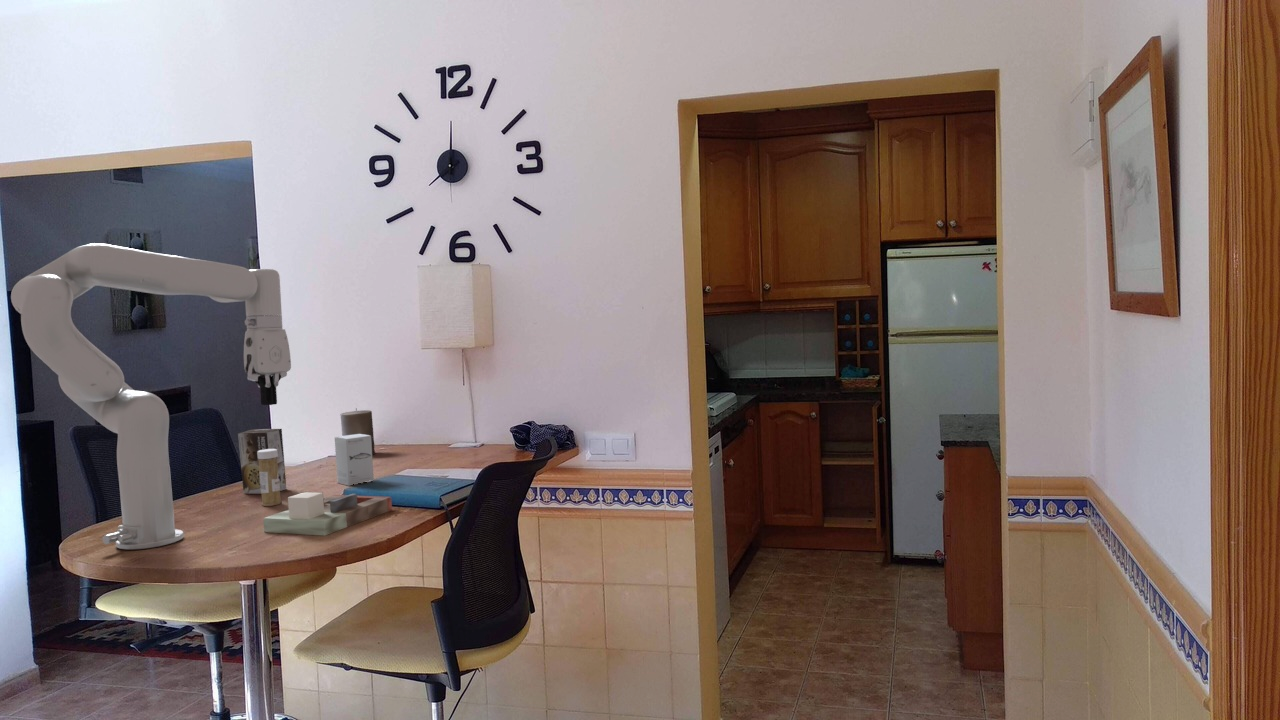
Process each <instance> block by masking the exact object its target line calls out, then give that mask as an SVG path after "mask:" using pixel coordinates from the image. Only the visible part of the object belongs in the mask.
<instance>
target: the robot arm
mask: <svg viewBox="0 0 1280 720" xmlns="http://www.w3.org/2000/svg"><path fill="white" fill-rule="evenodd" d="M96 286H97V287H98V286H99V287H104V288H105V287H107V288H113V289H119V290H120V289H121V290H127V291H133V292H134V291H135V292H139V293H140V292H141V293H146V294H153V295H163V296H176V295H177V296H181V295H185V296H186V295H189V296H190V295H191V296H203V297H209V298H210V299H211V300H213V301H215V302H218V303H226V304H227V303H235V302H237V303H238V302H245V316H246V319H245V320H244V325H245V326H246V331H245V333H244V343H243V367H244V371H245V373H246V374H247V377H246V378H247V380H248V381H252V382H255V383H256V384H257V387H258V388H259V390H260V391H259V392H260V404H261V405H262V406H272V405H277V404H278V396H277V395H278V394H277V387H278V386H279V383H280V380H281V379H283V378H285V377H287V375H288V372H289V371H291V368H292V359H291V350H290V344H289V338H288V335H287V331H286V329H285V328H284V329H283V315H282V314H283V313H282V297H281V296H282V294H281V293H282V292H281V276H280V273H279V272H278V271H277V270H276V269H273V268H272V269H271V268H256V269H255V268H254V269H252V268H251V269H248V268H246V267H244V266H240V265H237V264H236V265H235V264H229V263H225V262H217V261H212V260H205V259H198V258H197V259H196V258H190V257H184V256H180V255H179V256H178V255H173V254H172V255H171V254H164V253H158V252H152V251H145V250H141V249H135V248H129V247H125V246H119V245H112V244H108V243H95V242H94V243H93V242H92V243H87V244H84V245H80V246H77V247H75V248H72V249H71V250H69V251H68V252H66V253H64V254H63V255H61V256H60V257H58V258H56V259H54V260H52V261H51V262H49V263H47V264H46V265H44V266H42V267H41V268H39V269H37V270H35V271H33V272H32V273H30V274H28V275H26V276H24V277H23V278H21V279H20V280H19V281H17V282H16V284H14V286H13V288H12V290H11V294H10V300H11V301H10V302H11V304H12V306H13V308H14V309H15V311H16V312H17V313H19V314H20V322H21V323H20V324H21V331H22V334H23V338H24V340H25V342H26V343H27V344H26V345H28V347H29V349H30V351H32V352H33V354H35V355H36V357H38V359H40V360H41V361H42V362H43V364H45V365H46V366H48V367H49V369H51V371H53V372H54V373H55V374H56V375H57V376H58V384H59V386H60V388H61V390H62V392H63V393H64V394H65V395H66V396H67V397H68V398H69V399H70V400H71V401H73V403H74V404H76V405H77V406H78V407H79V408H80V409H82V410H83V411H84V412H85V413H87V414H88V415H89V416H90V417H92V418H93V419H94V420H95V421H97V422H98V423H99V424H100V425H101V426H103V427H105V428H106V429H107V430H109V431H111V432H112V433H114V434H117V443H116V444H117V445H116V464H117V475H118V485H119V496H120V508H121V518H122V519H121V520H122V524H120V525H118V526H117V527H118V529H117V530H116V531H115V532H112V533H111V532H110V533H108V534H104V535H102V542H103V544H104V545H110V544H113V543H115V547H116V548H118V549H120V550H143V549H152V548H156V547H162V546H166V545H170V544H174V543H177V542H179V541H181V540H182V539H183V538H184V536H185V535H184V531H183V530H181V529H177V528H176V526H175V515H174V514H175V512H174V502H173V500H174V499H173V491H172V490H173V489H172V479H171V478H172V477H171V467H170V457H169V432H170V431H169V429H170V413H169V410H168V408H167V405H166V404H165V402H164V401H163V400H162V399H161V397H159V396H157V394H154V393H152V392H148V391H145V390H144V391H142V390H135V389H133V387H131V386H130V385H129V384H128V383H126V382H125V376H124V373H123V371H122V369H121V367H120V366H119V365H118V364H117V363H116V362H115V361H114V360H113V359H111V358H110V357H109V356H107V355H106V354H105V353H104V352H103V351H102V350H100V349H99V348H98V347H97V346H95V345H94V344H93V343H92V342H91V341H89V339H88V338H87V337H85V336H84V335H83V333H82V332H80V330H79V329H78V328H77V327H76V326H75V324H74V322H73V319H72V312H71V311H72V306H73V303H74V300H76V299H78V297H80V296H82V295H84V294H85V293H86V292H88V291H90V290H91V289H93V287H96Z"/></svg>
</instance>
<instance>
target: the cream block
mask: <svg viewBox="0 0 1280 720" xmlns="http://www.w3.org/2000/svg"><path fill="white" fill-rule="evenodd" d="M323 498H324V492H321V493H319V492H306V491H305V492H301V493H297V494H294V495H291V496H288V497H287V505H288V510H289V518H292V519H311V518H314V517H316V516H319V515H322V514H324V502H323Z"/></svg>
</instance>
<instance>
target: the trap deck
mask: <svg viewBox="0 0 1280 720" xmlns="http://www.w3.org/2000/svg"><path fill="white" fill-rule="evenodd" d="M318 493H322V492H318ZM323 502H324V514H322V515H319V516H316V517H314V518H311V519H292V518H289V509H287V510H284V511H281V512H277V513H275V514H272V515H268V516H266V517H263V518H262V521H263V522H262V523H263V532H264V533H277V534H289V535H290V534H292V535H293V534H294V535H310V536H311V535H312V536H313V535H314V536H328V535H329V534H333V533H335V532H338V531H340V530H343V529H346V528H349V527H350V526H351V527H352V526H353V525H357V524H359V523H361V522H363V521H367V520H369V519H372V518H374V517H377V516H380V515H382V514H385V513H388V512H391V511H392V510H393V505H392V503H393V502H392V496H379V495H378V496H374V495H372V496H371V495H358V494H357V493H351V494H348V495H347V494H332V495H329V496H327V497H326V496H325V497H323Z"/></svg>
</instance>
